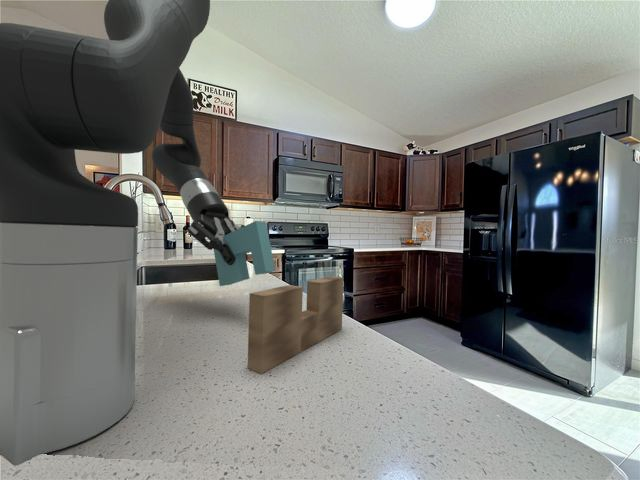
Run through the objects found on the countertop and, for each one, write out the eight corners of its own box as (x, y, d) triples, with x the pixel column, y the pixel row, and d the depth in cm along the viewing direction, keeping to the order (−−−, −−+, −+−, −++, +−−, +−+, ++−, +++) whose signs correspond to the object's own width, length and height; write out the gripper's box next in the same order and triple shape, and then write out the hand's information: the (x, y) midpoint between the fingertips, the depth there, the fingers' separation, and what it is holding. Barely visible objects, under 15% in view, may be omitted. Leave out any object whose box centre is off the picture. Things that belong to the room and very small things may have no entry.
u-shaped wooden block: (261, 374, 33) (263, 296, 33) (247, 367, 34) (249, 293, 34) (341, 329, 50) (343, 277, 49) (330, 326, 51) (331, 276, 51)
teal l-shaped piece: (219, 286, 55) (212, 241, 57) (229, 284, 57) (222, 241, 59) (265, 271, 48) (255, 220, 50) (275, 270, 50) (265, 221, 52)
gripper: (180, 184, 54) (217, 250, 47) (237, 195, 65) (273, 248, 58) (165, 212, 56) (198, 277, 50) (222, 218, 68) (255, 271, 61)
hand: (238, 261), depth 54 cm, fingers closed on teal l-shaped piece, 2 cm apart
